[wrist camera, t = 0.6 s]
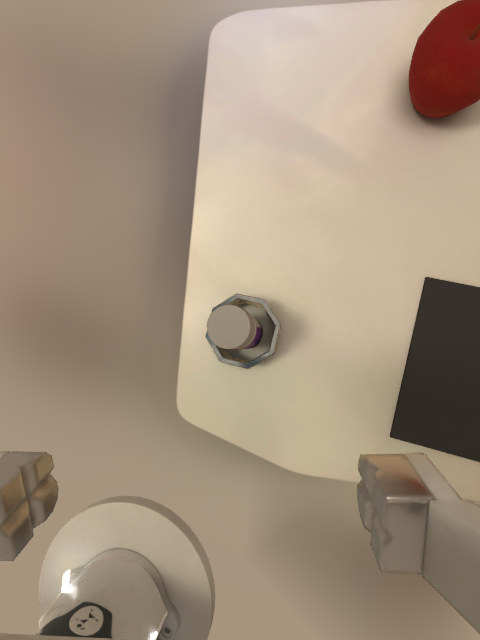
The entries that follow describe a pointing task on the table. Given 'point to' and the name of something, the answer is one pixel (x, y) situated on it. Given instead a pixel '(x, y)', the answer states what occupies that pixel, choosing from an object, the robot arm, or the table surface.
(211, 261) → the table surface
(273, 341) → the octagonal ring
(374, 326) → the table surface
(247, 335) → the container
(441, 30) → the apple
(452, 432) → the mat
